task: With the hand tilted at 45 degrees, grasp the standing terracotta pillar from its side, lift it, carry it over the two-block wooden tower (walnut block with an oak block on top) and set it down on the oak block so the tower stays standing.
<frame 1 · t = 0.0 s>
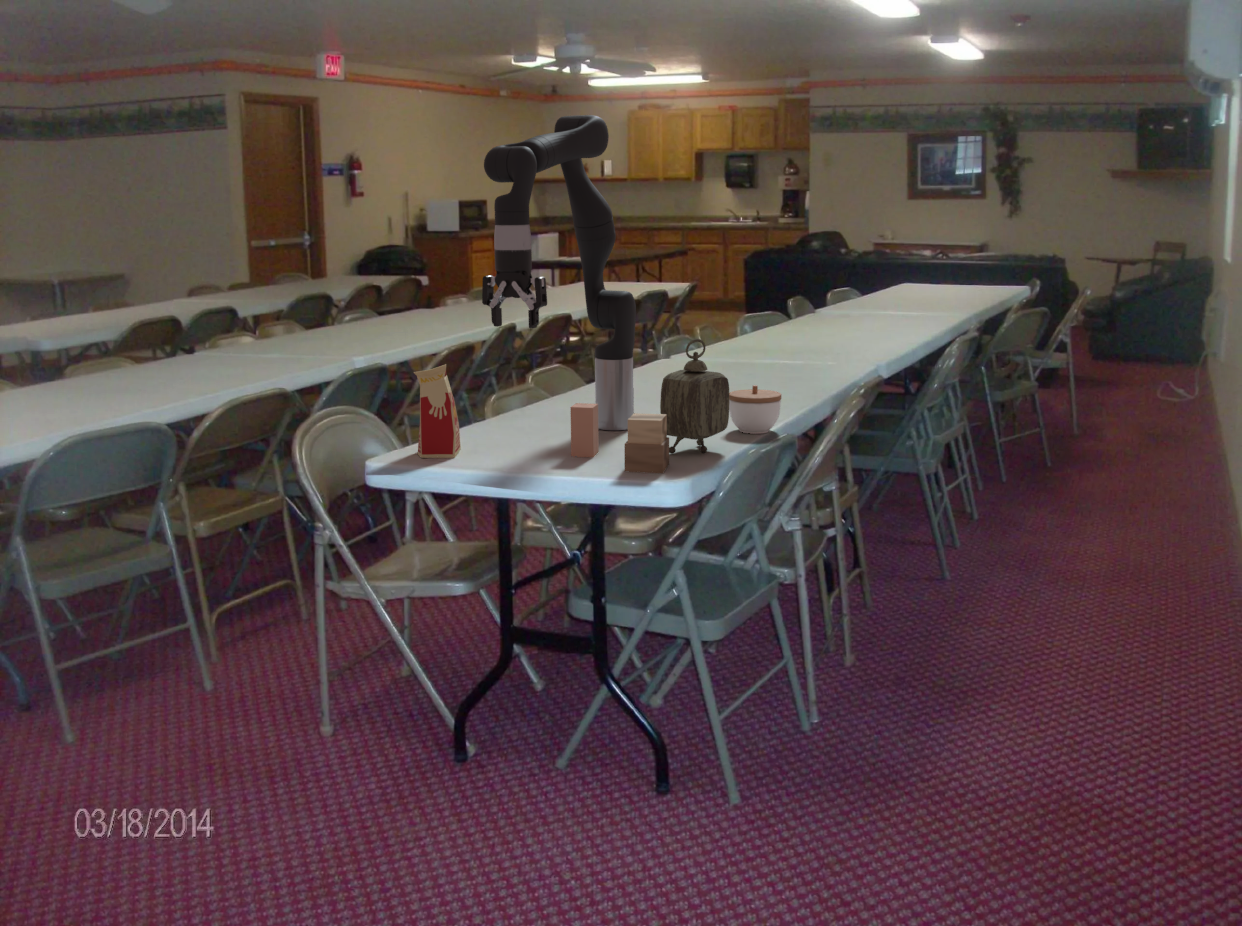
hand: (515, 327, 249), 29 cm above the table, tool pointing down, fingers open, 8 cm apart
milk carton: (438, 454, 267), on the table
terracotta pillar: (585, 454, 265), on the table
tabletop clock: (696, 452, 267), on the table
lidded bowl: (754, 431, 289), on the table
oak block: (647, 440, 251), point 6 cm above the table, touching walnut block
walnut block: (647, 468, 252), on the table, touching oak block
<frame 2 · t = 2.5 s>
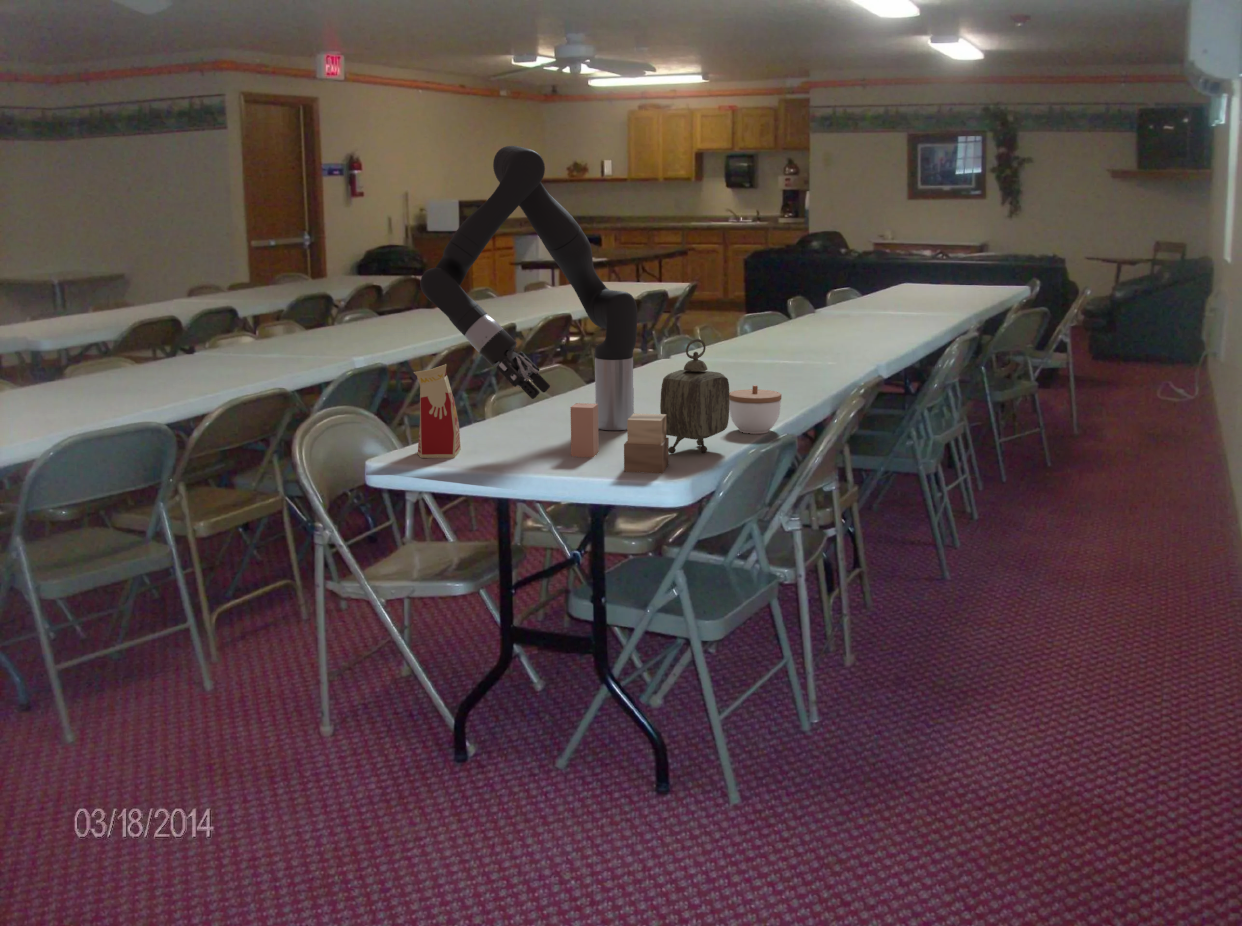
hand: (542, 392, 264), 13 cm above the table, tool tilted 45°, fingers open, 8 cm apart
nothing on the table moved.
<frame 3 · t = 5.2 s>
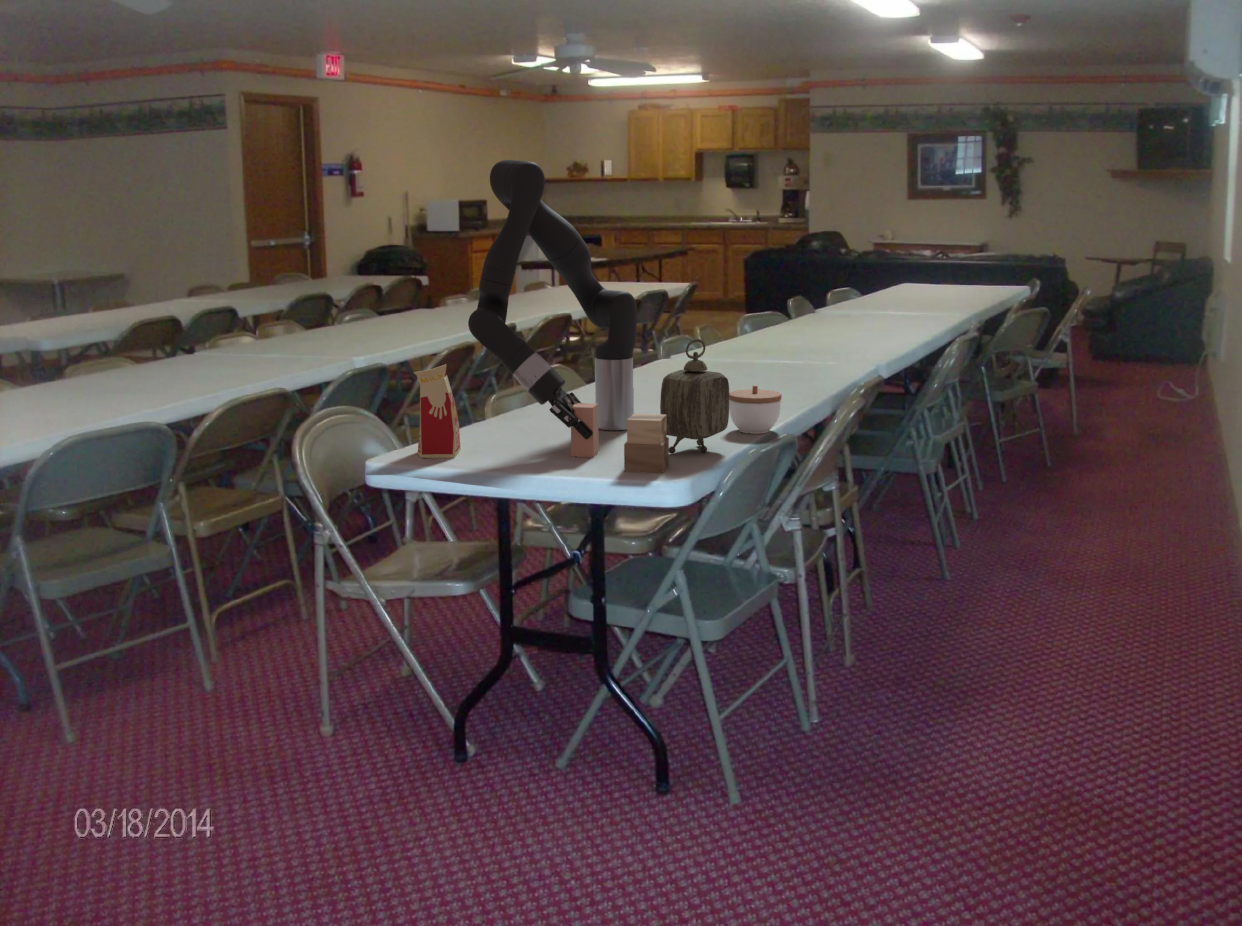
hand: (593, 433, 264), 5 cm above the table, tool tilted 45°, fingers closed on terracotta pillar, 5 cm apart
terracotta pillar: (585, 454, 265), on the table, touching gripper
everything else where it was.
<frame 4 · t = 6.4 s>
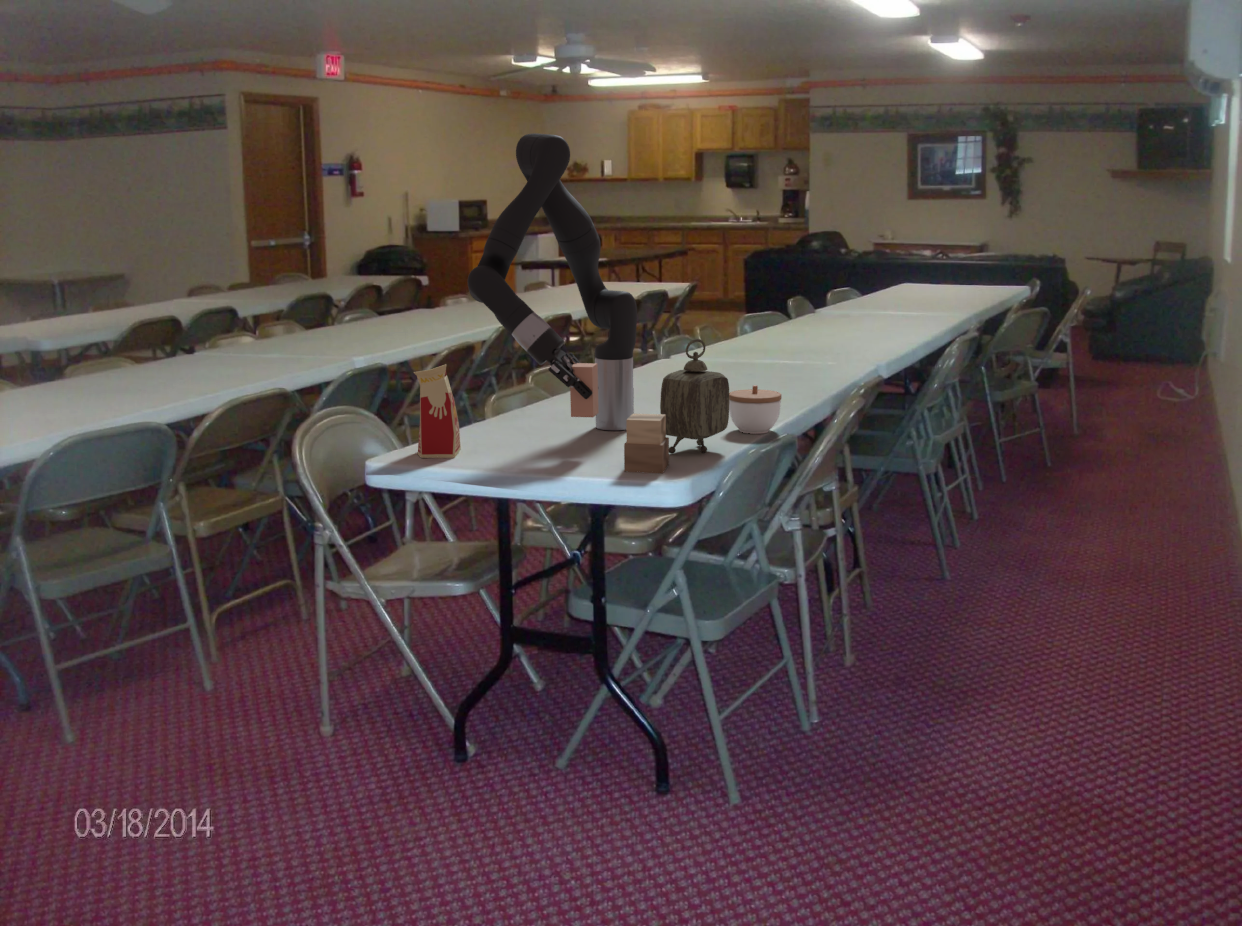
hand: (592, 393, 262), 14 cm above the table, tool tilted 45°, fingers closed on terracotta pillar, 5 cm apart
terracotta pillar: (584, 414, 263), point 9 cm above the table, touching gripper
everything else where it was.
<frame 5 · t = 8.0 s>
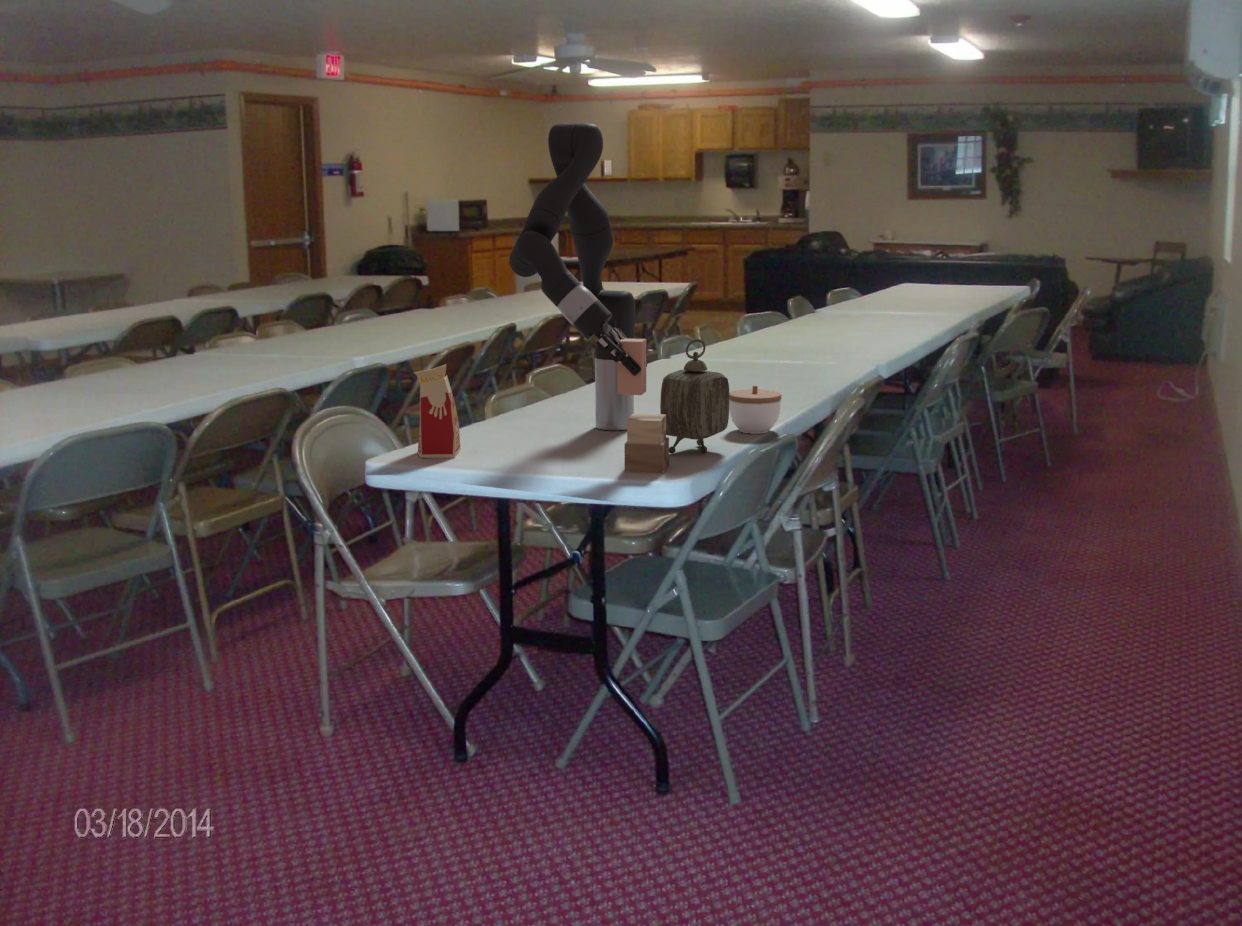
hand: (641, 370, 249), 20 cm above the table, tool tilted 45°, fingers closed on terracotta pillar, 5 cm apart
terracotta pillar: (632, 392, 250), point 16 cm above the table, touching gripper
everything else where it was.
when the fingers open (17 cm above the table, at t = 9.5 s): terracotta pillar drops 1 cm, resting on oak block.
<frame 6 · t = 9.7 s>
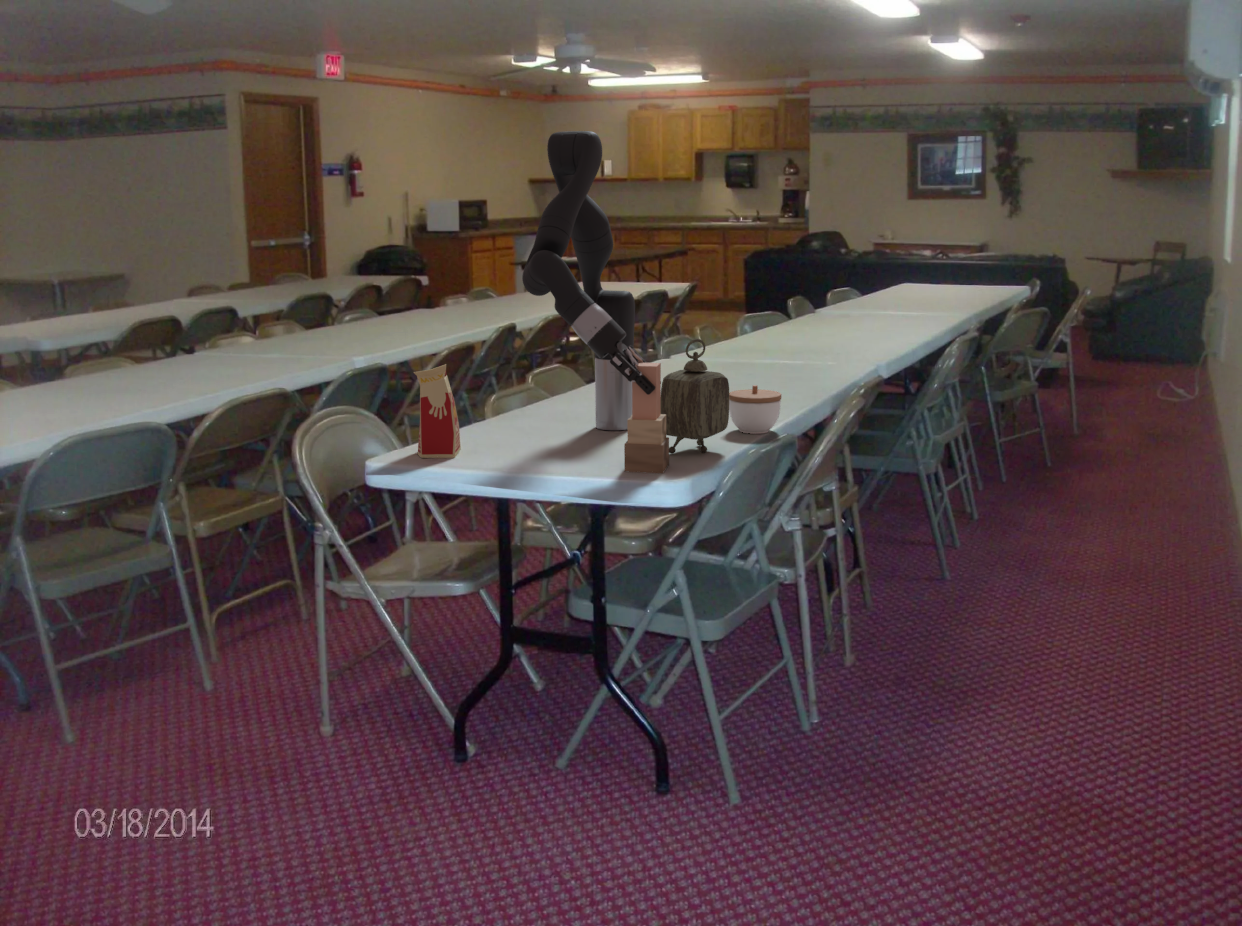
hand: (655, 388, 248), 17 cm above the table, tool tilted 45°, fingers open, 6 cm apart
terracotta pillar: (646, 417, 249), point 11 cm above the table, touching oak block
oak block: (647, 440, 250), point 6 cm above the table, touching terracotta pillar, walnut block
everything else where it was.
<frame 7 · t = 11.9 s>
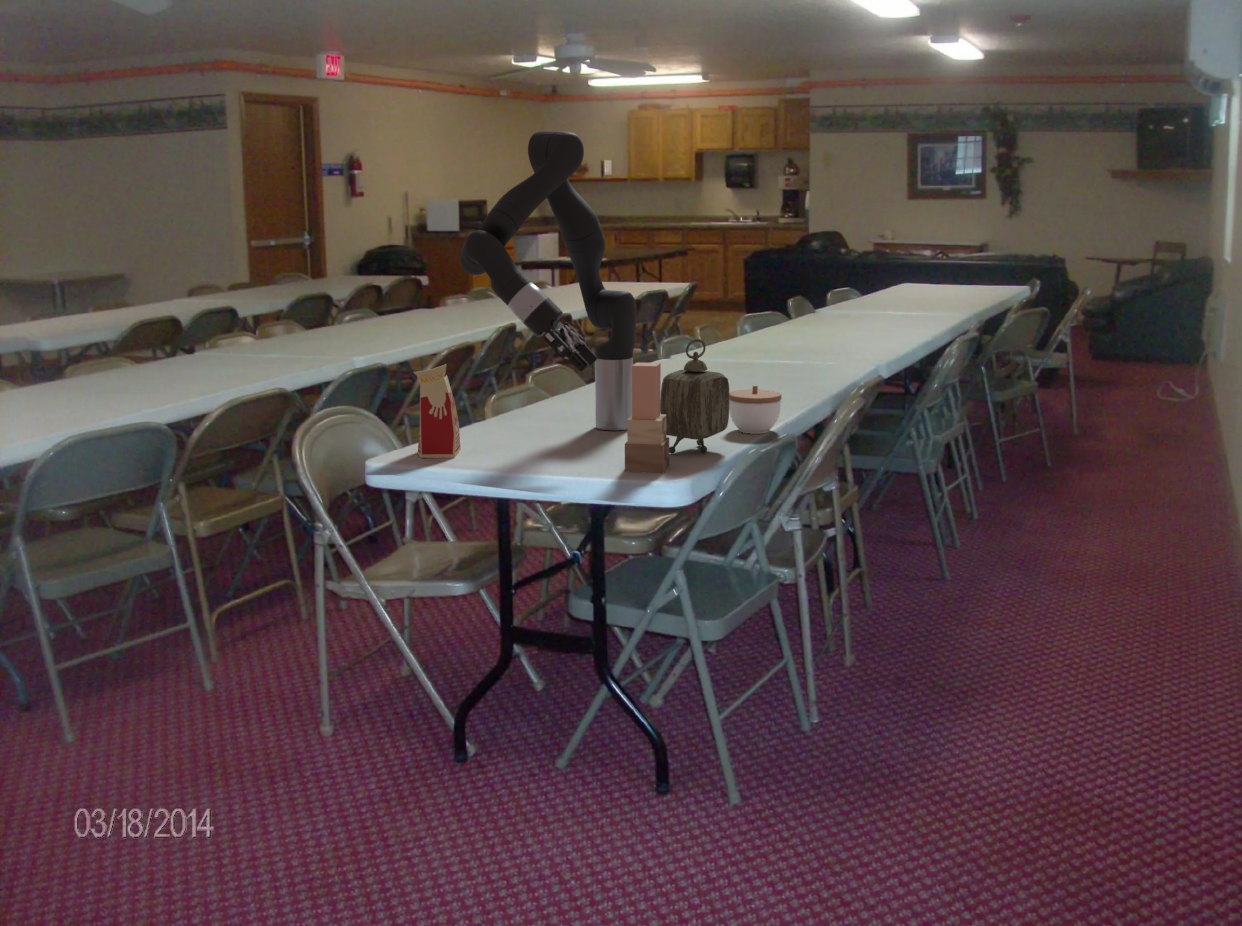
hand: (589, 365, 250), 21 cm above the table, tool tilted 45°, fingers open, 8 cm apart
nothing on the table moved.
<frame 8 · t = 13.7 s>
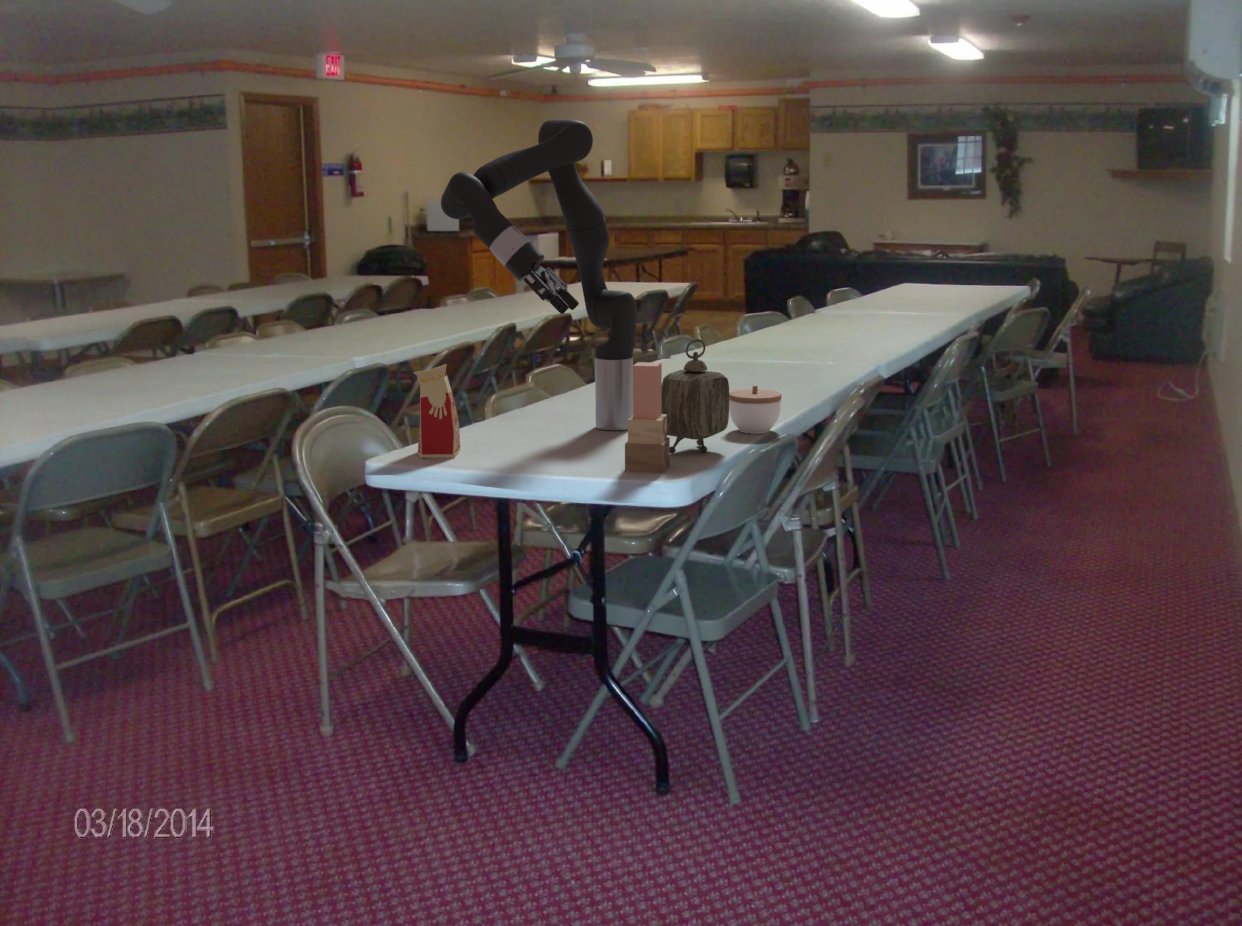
hand: (570, 309, 250), 33 cm above the table, tool tilted 45°, fingers open, 8 cm apart
nothing on the table moved.
at the end: terracotta pillar 0.1 cm off-centre on the walnut block, point 11.0 cm above the walnut block's base; terracotta pillar tilted 0°; oak block 0.1 cm off-centre on the walnut block, point 6.0 cm above the walnut block's base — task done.
